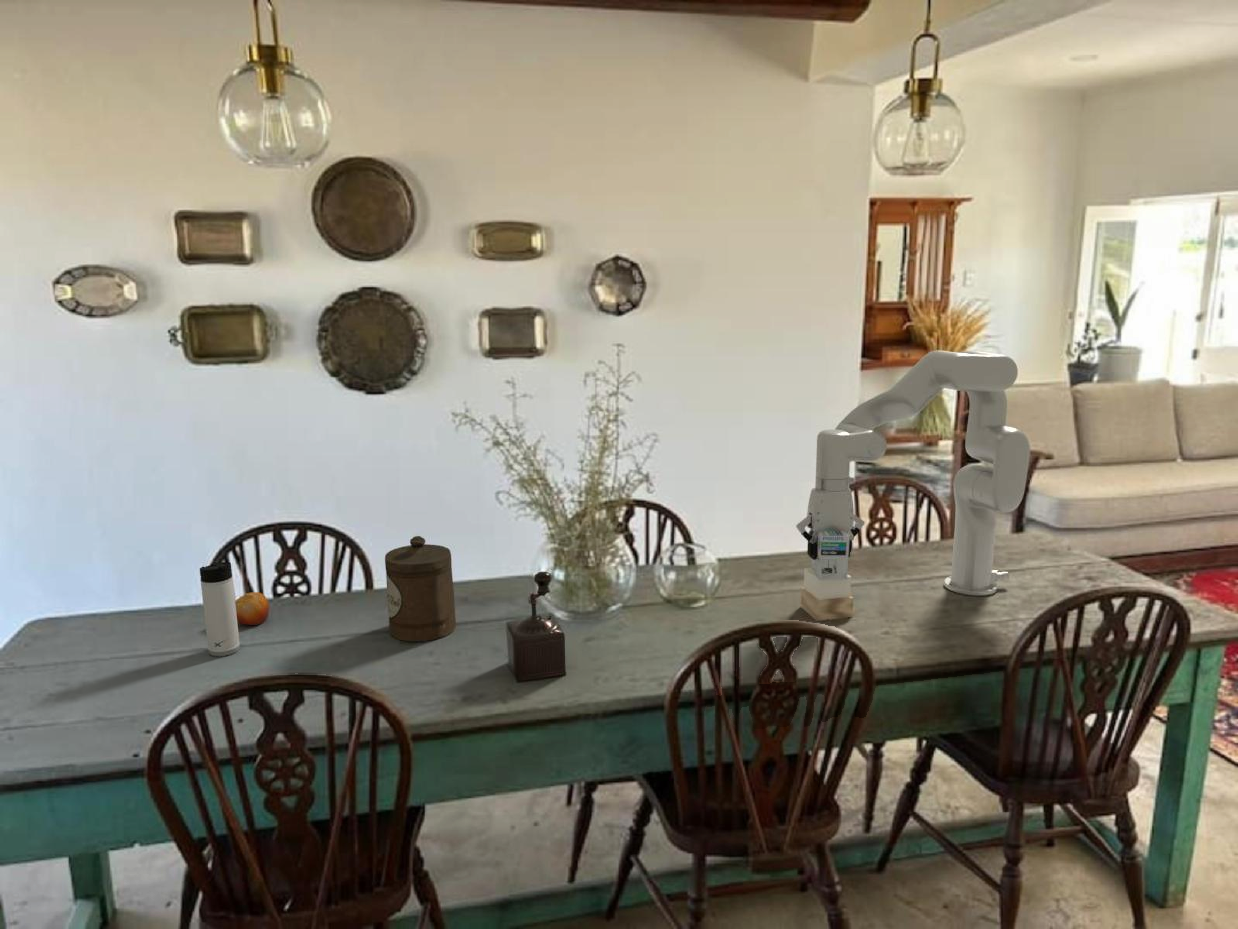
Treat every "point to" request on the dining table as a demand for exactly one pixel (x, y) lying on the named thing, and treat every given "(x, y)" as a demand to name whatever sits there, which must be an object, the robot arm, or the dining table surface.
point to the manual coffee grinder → (536, 641)
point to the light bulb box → (832, 555)
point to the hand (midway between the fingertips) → (829, 556)
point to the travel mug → (219, 609)
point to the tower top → (826, 586)
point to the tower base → (826, 606)
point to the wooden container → (420, 591)
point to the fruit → (252, 608)
